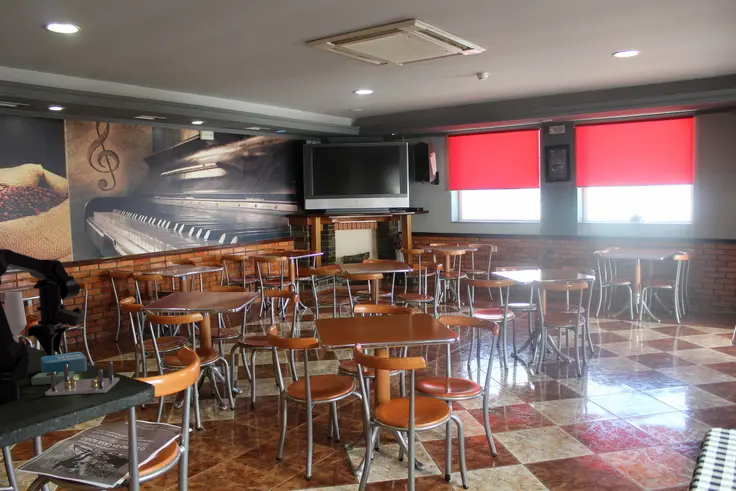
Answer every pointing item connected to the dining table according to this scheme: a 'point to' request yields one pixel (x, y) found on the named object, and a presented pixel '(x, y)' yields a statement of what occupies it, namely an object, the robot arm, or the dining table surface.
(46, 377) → the board
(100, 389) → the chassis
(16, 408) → the dining table surface
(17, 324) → the champagne flute
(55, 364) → the data package
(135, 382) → the dining table surface
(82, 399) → the dining table surface
